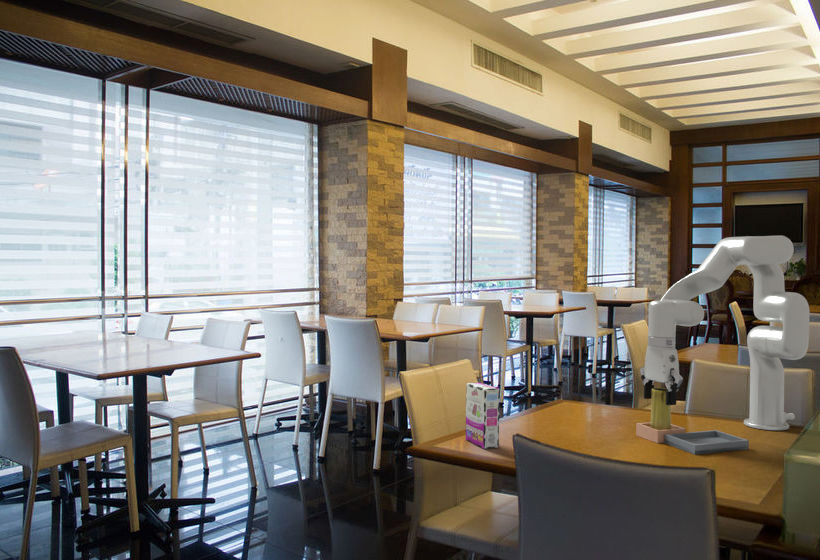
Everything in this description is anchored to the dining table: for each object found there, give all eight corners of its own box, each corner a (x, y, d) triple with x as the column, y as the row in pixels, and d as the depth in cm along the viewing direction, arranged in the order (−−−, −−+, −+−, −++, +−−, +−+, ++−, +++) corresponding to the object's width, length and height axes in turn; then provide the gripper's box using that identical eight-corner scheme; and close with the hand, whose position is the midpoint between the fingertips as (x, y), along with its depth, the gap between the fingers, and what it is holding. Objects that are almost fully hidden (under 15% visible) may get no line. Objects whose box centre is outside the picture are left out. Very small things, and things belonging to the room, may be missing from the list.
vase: (673, 441, 190) (674, 391, 190) (651, 440, 191) (651, 390, 191) (669, 436, 196) (670, 387, 196) (647, 434, 197) (648, 387, 197)
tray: (715, 438, 193) (716, 430, 193) (748, 449, 182) (748, 440, 182) (664, 443, 188) (664, 434, 188) (694, 454, 177) (694, 445, 176)
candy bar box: (500, 448, 182) (500, 388, 181) (484, 449, 180) (484, 389, 179) (480, 438, 192) (480, 381, 192) (464, 439, 190) (465, 382, 190)
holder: (663, 432, 200) (663, 421, 200) (685, 440, 191) (685, 428, 191) (636, 435, 197) (636, 423, 197) (657, 443, 188) (657, 431, 188)
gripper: (693, 346, 186) (691, 407, 186) (652, 339, 203) (650, 395, 203) (671, 346, 184) (669, 408, 184) (631, 340, 200) (630, 396, 200)
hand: (659, 401), depth 193 cm, fingers open, 9 cm apart
